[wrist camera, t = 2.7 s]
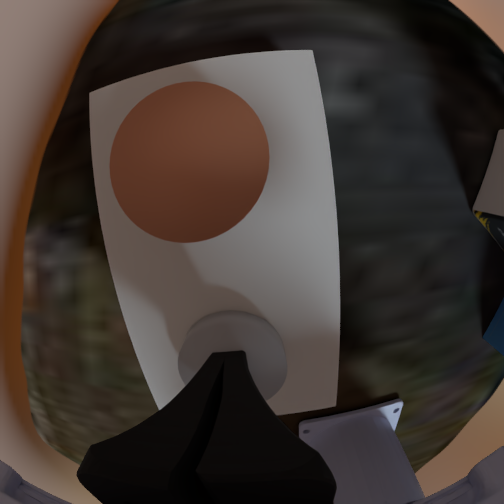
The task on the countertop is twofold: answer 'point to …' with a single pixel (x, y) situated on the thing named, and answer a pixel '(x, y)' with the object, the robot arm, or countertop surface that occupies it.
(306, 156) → the panel
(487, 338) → the perfume bottle
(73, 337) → the countertop surface
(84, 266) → the countertop surface
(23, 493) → the robot arm
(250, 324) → the grey button
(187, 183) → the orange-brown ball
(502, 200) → the medicine bottle
